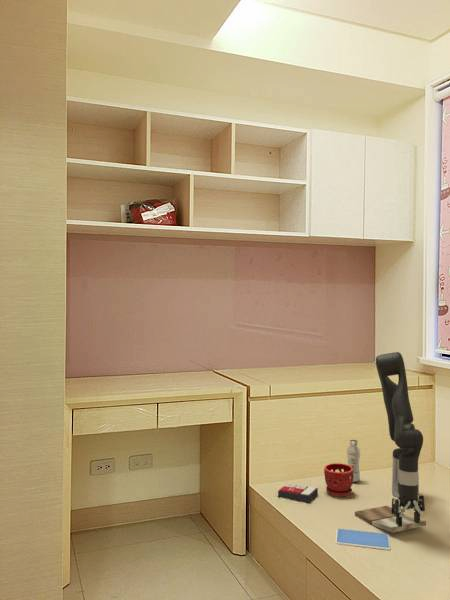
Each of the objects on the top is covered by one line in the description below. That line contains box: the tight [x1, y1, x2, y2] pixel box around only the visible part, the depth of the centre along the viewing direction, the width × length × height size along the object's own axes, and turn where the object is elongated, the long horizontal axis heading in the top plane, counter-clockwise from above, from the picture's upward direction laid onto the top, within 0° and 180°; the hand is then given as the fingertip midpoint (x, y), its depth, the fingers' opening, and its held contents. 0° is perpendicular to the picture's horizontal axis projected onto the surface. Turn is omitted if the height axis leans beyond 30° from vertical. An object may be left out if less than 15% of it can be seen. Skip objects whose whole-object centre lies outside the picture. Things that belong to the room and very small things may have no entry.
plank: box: [371, 514, 427, 533], centre depth 209 cm, size 16×12×2 cm
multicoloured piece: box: [277, 482, 319, 504], centre depth 241 cm, size 11×4×15 cm
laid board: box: [354, 505, 405, 526], centre depth 220 cm, size 17×10×2 cm, turn 114°
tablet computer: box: [335, 528, 391, 551], centre depth 199 cm, size 19×13×1 cm, turn 76°
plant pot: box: [323, 462, 354, 497], centre depth 245 cm, size 13×13×12 cm
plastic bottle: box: [346, 439, 361, 483], centre depth 261 cm, size 6×7×20 cm
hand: (408, 524), depth 204 cm, fingers open, 8 cm apart
